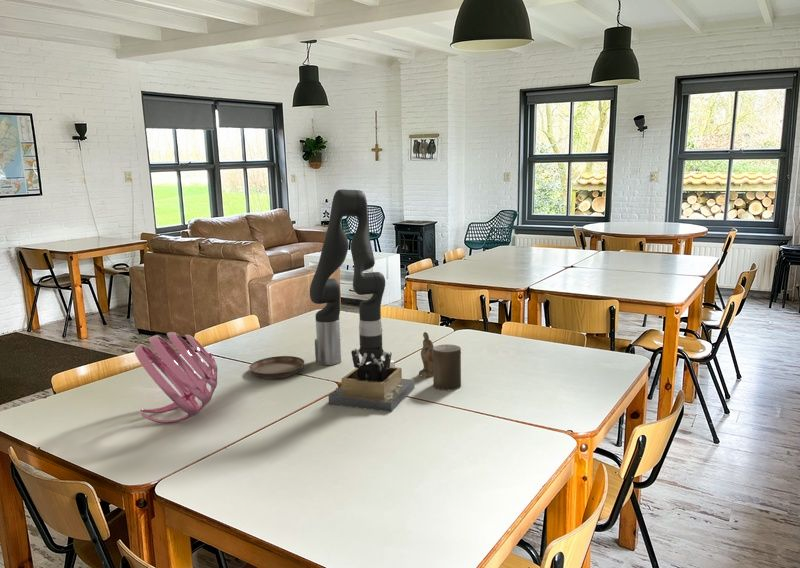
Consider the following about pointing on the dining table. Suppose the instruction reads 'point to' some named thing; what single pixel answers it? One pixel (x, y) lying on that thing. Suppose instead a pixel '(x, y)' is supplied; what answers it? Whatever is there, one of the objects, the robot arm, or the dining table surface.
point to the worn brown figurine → (427, 356)
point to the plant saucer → (277, 366)
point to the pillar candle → (447, 367)
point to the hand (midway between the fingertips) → (372, 380)
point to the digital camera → (370, 372)
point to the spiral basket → (179, 373)
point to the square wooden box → (372, 391)
